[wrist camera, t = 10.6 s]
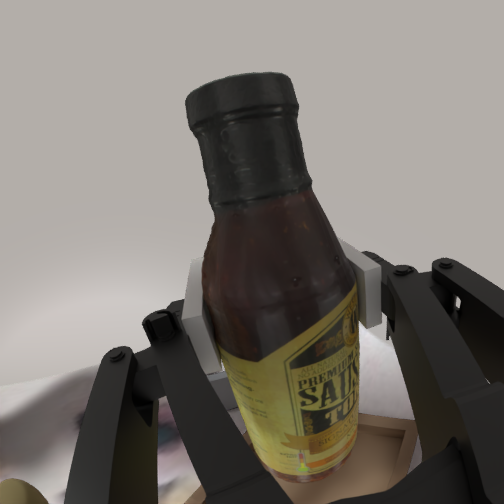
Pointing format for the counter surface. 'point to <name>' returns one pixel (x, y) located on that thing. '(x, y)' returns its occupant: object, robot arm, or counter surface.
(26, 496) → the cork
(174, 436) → the counter surface
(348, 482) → the tray
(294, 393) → the sauce bottle
